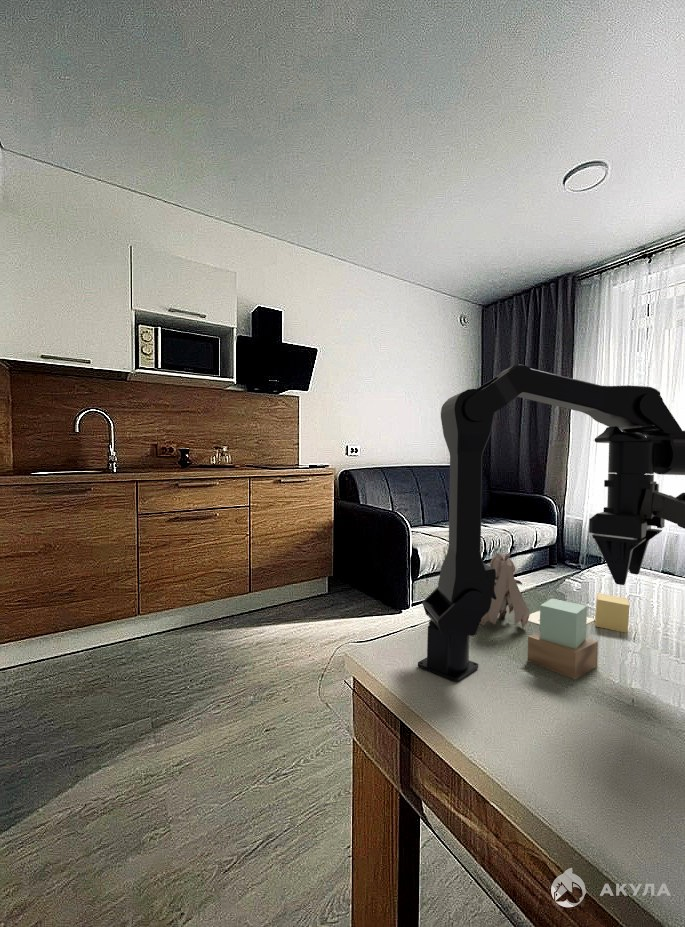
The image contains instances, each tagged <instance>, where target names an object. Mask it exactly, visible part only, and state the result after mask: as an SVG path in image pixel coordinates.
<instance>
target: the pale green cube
mask: <svg viewBox="0 0 685 927" xmlns="http://www.w3.org/2000/svg"><path fill="white" fill-rule="evenodd" d="M539 611H540V625H539V632H540V638H539V639H542V640H546V641H549V642H553V643H556V644H560V645H564V646H567V647H571V648H574V649H576V648H577V647H578V646H580V645H581V644H582V643H583V642H584V641H585V640H586V638H587V625H586V620H587V617H588V614H587V613H588V612H587V611H588V606H587V605H585V604H580V603H575V602H570V601H566V600H560V599H557V598H550V599H548V600H547V601H545V602H543V603H542V604H540V606H539Z"/></svg>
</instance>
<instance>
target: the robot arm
mask: <svg viewBox="0 0 685 927" xmlns="http://www.w3.org/2000/svg"><path fill="white" fill-rule="evenodd" d="M516 398H521V399H524V400H525V399H526V400H530V401H533V402H537V403H543V404H547V405H550V406H555V407H559V408H564V409H566V410H572V411H575V412H579V413H583V414H584V415H585V414H586V415H587V416H590V417H591V418H592V420H594V421H595V422H597V423H599V424H602V425H604V426H607V427H606V428H605V429H604V431H603V432H602V433H600V434H599V435H597V436H596V437H595V438H594V442H595V443H597V444H599V443H600V444H608V464H607V465H608V468H607V471H608V474H607V479H604V480H603V481H604V483H603V487H604V488H607V506H604V507H603V511H602V512H597V513H595V514H594V515H593V516H591V518H589V520H588V533H589V534H591V536H592V539H594V541H595V543H596V544H597V547H598V549H599V552H601V556H602V557H603V559H604V561H605V563H606V565H607V567H608V570H609V572H610V574H611V576H612V578H613V581H614V583H615V584H616V585H620V586H624V585H626V582H627V578H628V573H630V574H633V575H638V574H639V575H640V571H641V568H642V565H643V562H644V559H645V558H644V557H645V555H646V552H647V549H648V545H649V542H650V540H651V539H653V538H655V537H657V536H658V535H659V534H660V533H661V532H662V531H663V528H665V523H666V522H665V521H668V522H671V523H673V524H675V525H677V526H678V527H679V528H682V529H685V492H681V493H680V494H678V495H677V496H674V495H671V494H666V493H664V492H660V490H659V489H660V485H659V483H657V481H655V480H654V479H655V474H656V475H662V476H663V475H667V476H685V430H683V429H682V428H681V426H680V425H679V423H678V422H677V420H676V418H675V417H674V416H673V414H672V412H671V411H670V410H669V407H668V406H667V405H666V404H665V402H664V399H663V398H662V396H661V392H660V391H659V390H658V389H657V388H654V387H652V386H648V385H646V386H645V385H643V386H642V385H630V384H629V385H628V384H627V385H601V384H596V383H593V382H588V381H584V380H579V379H576V378H573V377H572V378H571V377H568V376H564V375H560V374H556V373H551V372H547V371H543V370H540V369H535V368H530V367H529V366H527V365H525V364H515V365H512V366H509V367H508V368H506V369H504V370H503V371H501V372H500V373H498V375H496V376H495V377H493V378H492V379H490V380H489V381H487V382H486V383H484V384H483V385H480V386H478V387H477V388H468V389H466V390H463V391H462V392H459V393H457V394H456V395H453V396H451V397H449V398H448V399H447V400H446V401H445V402H444V403H443V404H442V406H441V410H440V420H441V428H442V432H443V433H442V434H443V438H444V440H445V443H446V446H447V449H448V452H449V500H448V501H449V503H448V506H449V508H448V511H449V512H448V550H447V553H446V555H445V557H444V560H443V562H442V564H441V568H440V572H439V573H440V574H439V576H438V577H439V578H438V583H437V587H436V588H435V589H434V590H433V591H432V592H431V593H430V594H429V595H428V596H427V597H426V598H424V600H423V601H422V607H423V609H424V612H425V615H426V616H428V617H429V619H430V620H429V621H428V626H427V645H426V646H427V647H426V657H424V658H423V659H421V660H419V661H418V662H417V667H419V668H421V669H423V670H426V671H428V672H431V673H433V674H436V675H439V676H441V677H443V678H445V679H449V680H451V681H454V682H460V681H461V680H462V679H464V678H465V677H466V676H468V675H470V674H471V673H472V672H474V671H476V670H477V669H479V663H477V662H474V661H473V660H469V658H470V636H472V637H473V636H474V637H475V635H476V634H477V631H478V629H479V627H480V625H481V623H480V622H481V619H482V617H483V616H484V615H485V614H486V613H488V612H489V611H490V608H491V603H492V598H493V599H495V600H496V599H497V598H496V595H495V592H494V583H495V578H496V570H495V569H493V568H492V567H490V565H488V564H487V563H484V560H483V558H482V553H481V552H482V551H481V548H482V547H481V546H482V545H481V544H482V497H483V496H482V491H483V490H482V489H483V486H482V484H483V454H484V451H485V449H486V446H487V443H488V441H489V439H490V436H491V434H492V429H493V423H494V418H495V412H497V411H499V410H500V409H503V408H504V407H505V406H506V405H508V404H509V403H511V402H512V401H513V400H514V399H516ZM652 527H656V528H657V529H656V528H652Z"/></svg>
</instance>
